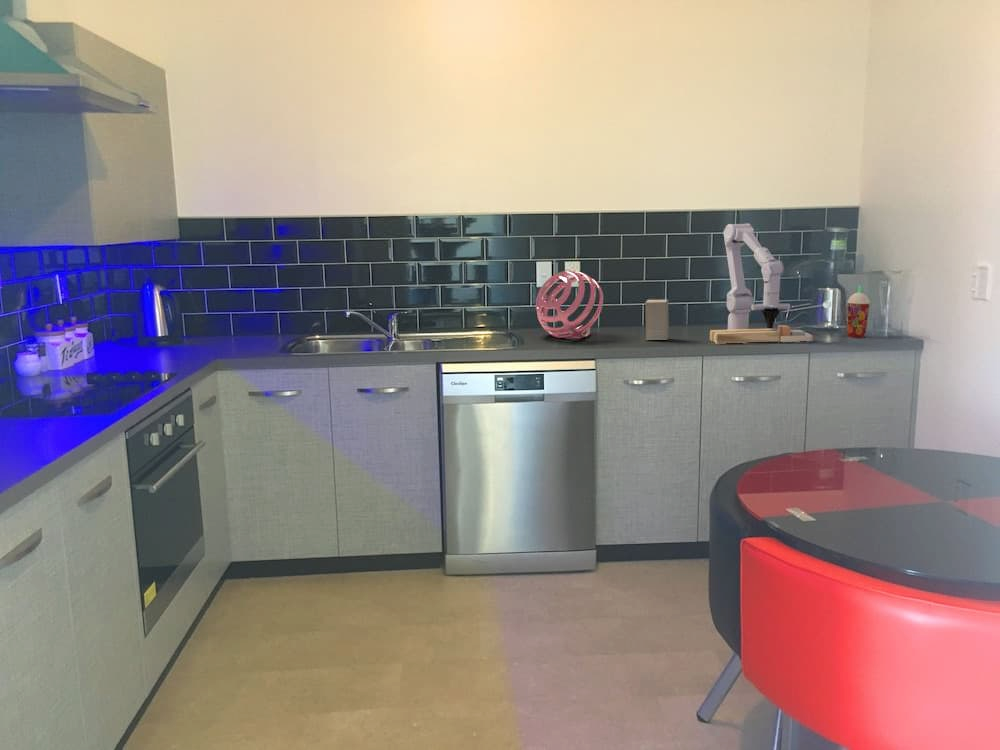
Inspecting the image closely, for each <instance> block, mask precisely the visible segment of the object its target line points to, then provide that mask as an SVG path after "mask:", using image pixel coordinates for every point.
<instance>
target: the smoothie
mask: <svg viewBox="0 0 1000 750" xmlns="http://www.w3.org/2000/svg"><path fill="white" fill-rule="evenodd" d="M870 304H871V301H870V299H869V297H868V296H867V294H864V293H862V292H861V285H858V291H857V292H855V293H853V294H852V295H851V296H849V298H848V300H847V301H846V311H847V312H846V334H847V335H848V337H849V338H857V339H858V338H859V339H860V338H864V337H865V335H866V333H867V326H868V320H869V312H870V307H871V306H870Z"/></svg>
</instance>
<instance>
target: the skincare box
mask: <svg viewBox="0 0 1000 750" xmlns="http://www.w3.org/2000/svg"><path fill="white" fill-rule="evenodd" d="M644 303H645V341H646V340H667V341H668V339H669V337H670V336H669V335H670V334H669V330H670V327H669V299H647V300H646V301H645V302H644Z"/></svg>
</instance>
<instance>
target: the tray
mask: <svg viewBox="0 0 1000 750" xmlns="http://www.w3.org/2000/svg"><path fill="white" fill-rule="evenodd" d="M779 341H781V342H795V343H801V342H800V341H807V342H806V343H810V342H809V341H813V342H814V335H813V334H810V333H807V332H805V335H804V336H780V339H779Z"/></svg>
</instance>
